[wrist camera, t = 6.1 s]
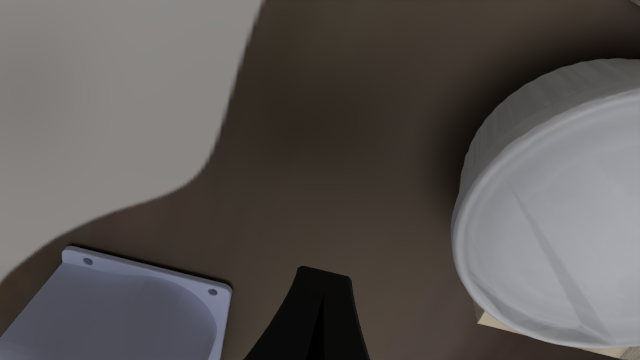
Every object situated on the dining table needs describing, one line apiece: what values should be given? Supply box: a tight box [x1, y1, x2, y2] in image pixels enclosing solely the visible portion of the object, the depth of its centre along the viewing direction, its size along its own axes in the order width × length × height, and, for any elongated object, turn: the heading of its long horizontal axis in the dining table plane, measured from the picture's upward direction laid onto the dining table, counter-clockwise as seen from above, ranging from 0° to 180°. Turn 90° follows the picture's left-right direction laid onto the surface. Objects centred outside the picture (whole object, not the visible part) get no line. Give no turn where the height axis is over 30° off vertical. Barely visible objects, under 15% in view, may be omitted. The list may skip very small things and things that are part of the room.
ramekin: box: [451, 58, 640, 349], centre depth 18 cm, size 11×11×5 cm
